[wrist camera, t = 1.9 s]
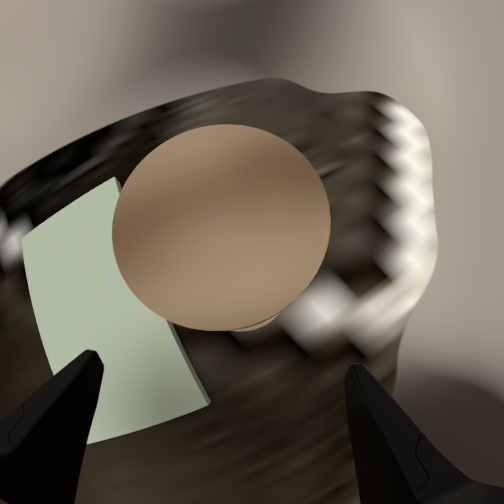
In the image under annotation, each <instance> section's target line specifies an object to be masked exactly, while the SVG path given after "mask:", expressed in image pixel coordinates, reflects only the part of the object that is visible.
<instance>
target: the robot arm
mask: <svg viewBox="0 0 504 504" xmlns="http://www.w3.org/2000/svg"><path fill="white" fill-rule="evenodd" d="M103 374H104V364H103V362H102V360H101V358H100V356H99V354H98V353H97V351H95V350H90V349H86V350H85V351H83V352H82V353H81V354H80V355H78V356H77V357H76V358H75V359H73V360H72V361H71V362H70V363H68V364H67V365H66V366H65V367H64V368H62V369H61V370H60V371H59V372H57V373H56V374H55V375H54V376H53V377H51V378H50V379H49V380H48V381H46V382H45V383H44V384H43V385H42V386H40V387H39V388H38V389H37V390H36V391H34V392H33V393H32V394H31V395H30V396H28V397H27V398H26V399H25V401H22V402H21V403H20V404H19V405H18V406H16V407H15V408H14V409H13V410H11V411H10V412H9V413H7V414H6V415H5V416H3V417H2V418H0V504H74V503H75V497H76V491H77V485H78V480H79V475H80V470H81V466H82V461H83V457H84V453H85V449H86V445H87V441H88V437H89V433H90V429H91V425H92V422H93V418H94V415H95V411H96V408H97V404H98V399H99V394H100V389H101V383H102V378H103ZM345 393H346V407H347V421H348V427H349V433H350V438H351V444H352V450H353V456H354V462H355V468H356V474H357V481H358V488H359V495H360V503H361V504H504V487H499V486H494V485H490V484H485V483H481V482H477V481H474V480H472V479H470V478H469V477H467V476H466V475H464V474H463V473H462V472H461V471H460V470H459V469H458V468H457V467H455V466H454V465H453V464H452V463H451V462H450V461H449V460H448V459H447V458H446V457H444V456H443V455H442V454H441V453H440V452H439V451H438V450H437V449H436V448H435V447H434V446H433V445H432V443H431V442H430V441H429V440H428V439H427V438H426V436H425V435H424V434H423V433H422V432H421V433H420V430H419V428H418V427H417V426H416V425H415V424H414V423H413V421H412V420H411V419H410V418H409V417H408V416H407V414H406V413H405V412H404V411H403V410H402V408H401V407H400V406H399V405H398V404H397V403H396V401H395V400H394V399H393V398H392V397H391V396H390V394H389V393H388V392H387V391H386V390H385V389H384V387H383V386H382V385H381V384H380V383H379V382H378V380H377V379H376V378H375V377H374V376H373V375H372V373H371V372H370V371H369V370H368V369H367V368H366V367H365V365H364V364H362V363H356V364H351V365H350V367H349V369H348V372H347V374H346V377H345Z"/></svg>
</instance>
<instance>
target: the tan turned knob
mask: <svg viewBox="0 0 504 504" xmlns="http://www.w3.org/2000/svg"><path fill="white" fill-rule="evenodd" d="M329 235H330V209H329V203H328V199H327V195H326V191H325V189H324V186H323V184H322V182H321V179H320V178H319V176H318V174H317V173H316V171H315V169H314V168H313V166H312V165H311V164H310V163H309V161H308V160H307V159H306V158H305V157H304V156H303V155H302V154H301V153H300V152H299V151H298V150H297V149H296V148H294V147H293V146H292V145H290V144H289V143H288V142H286V141H284V140H283V139H281V138H279V137H277V136H276V135H273V134H271V133H269V132H266V131H264V130H260V129H257V128H253V127H248V126H242V125H229V124H224V125H211V126H206V127H200V128H197V129H193V130H190V131H187V132H184V133H182V134H179V135H177V136H175V137H173V138H171V139H169V140H168V141H166V142H164V143H163V144H161V145H160V146H158V147H157V148H155V149H154V150H153V151H152V152H151V153H150V154H148V155H147V156H146V157H145V158H144V159H143V160H142V161H141V162H140V163H139V164H138V166H137V167H136V168H135V169H134V171H133V172H132V173H131V175H130V176H129V178H128V179H127V181H126V183H125V185H124V186H123V188H122V191H121V193H120V195H119V198H118V200H117V204H116V207H115V211H114V216H113V222H112V243H113V251H114V255H115V259H116V263H117V266H118V268H119V270H120V273H121V275H122V277H123V279H124V281H125V282H126V284H127V286H128V287H129V289H130V290H131V291H132V292H133V294H134V295H135V296H136V297H137V298H138V299H139V300H140V301H141V302H142V303H143V304H144V305H145V306H146V307H147V308H148V309H150V310H151V311H153V312H154V313H156V314H157V315H159V316H160V317H162V318H164V319H166V320H168V321H170V322H173V323H175V324H178V325H181V326H185V327H188V328H193V329H199V330H207V331H251V330H255V329H258V328H261V327H263V326H265V325H266V324H268V323H270V322H271V321H272V320H274V319H275V318H276V317H277V316H278V315H279V314H280V312H281V311H282V310H284V309H285V308H286V307H287V306H289V305H290V304H291V303H292V302H293V301H294V300H295V299H296V298H297V297H298V296H299V295H300V294H301V293H302V292H303V291H304V290H305V289H306V287H307V286H308V285H309V283H310V282H311V281H312V279H313V278H314V276H315V275H316V273H317V271H318V269H319V267H320V265H321V263H322V261H323V258H324V255H325V252H326V249H327V246H328V241H329Z"/></svg>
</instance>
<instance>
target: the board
mask: <svg viewBox="0 0 504 504" xmlns="http://www.w3.org/2000/svg"><path fill="white" fill-rule="evenodd" d="M121 191H122V188H121V185H120V183H119V181H118V180H117V179H116V178H115V177H113V178H111V179H110V180H108V181H106V182H105V183H103V184H101V185H100V186H98V187H96V188H95V189H93V190H91V191H90V192H88V193H86V194H85V195H83V196H82V197H80V198H79V199H77V200H75V201H74V202H72V203H71V204H69V205H68V206H66V207H65V208H63V209H62V210H60V211H59V212H57V213H56V214H55V215H53V216H52V217H50V218H49V219H47V220H46V221H45V222H43V223H42V224H40V225H39V226H38V227H36V228H35V229H34V230H32V231H31V232H30V233H28V234H27V235H26V236H24V237H23V238H22V239H21V240H22V249H23V256H24V263H25V269H26V275H27V281H28V286H29V291H30V296H31V300H32V305H33V309H34V313H35V317H36V321H37V325H38V328H39V332H40V335H41V339H42V342H43V345H44V348H45V351H46V354H47V357H48V360H49V363H50V366H51V369H52V372H53V374H54V375H55V374H56V373H57V372H59V371H60V370H61V369H62V368H64V367H65V366H66V365H67V364H68V363H70V362H71V361H72V360H73V359H75V358H76V357H77V356H78V355H80V354H81V353H82V352H83V351H85V350H86V349H90V350H95V351H97V353H98V354H99V356H100V358H101V360H102V362H103V364H104V374H103V378H102V383H101V389H100V394H99V399H98V404H97V408H96V411H95V415H94V418H93V422H92V425H91V429H90V433H89V437H88V441H87V444H89V443H94V442H98V441H102V440H106V439H109V438H113V437H117V436H120V435H124V434H127V433H131V432H134V431H137V430H141V429H144V428H147V427H150V426H153V425H156V424H159V423H162V422H165V421H168V420H171V419H174V418H176V417H179V416H182V415H185V414H187V413H190V412H193V411H195V410H198V409H200V408H203V407H205V406H208V405H209V404H210V402H211V400H210V398H209V397H208V395H207V393H206V391H205V389H204V387H203V385H202V384H201V382H200V380H199V378H198V376H197V374H196V372H195V370H194V368H193V366H192V364H191V362H190V360H189V358H188V356H187V354H186V352H185V350H184V348H183V346H182V343H181V341H180V339H179V337H178V335H177V333H176V331H175V328H174V326H173V324H172V322H170V321H168V320H166V319H164V318H162V317H160V316H159V315H157V314H156V313H154V312H153V311H151V310H150V309H148V308H147V307H146V306H145V305H144V304H143V303H142V302H141V301H140V300H139V299H138V298H137V297H136V296H135V295H134V294H133V292H132V291H131V290H130V289H129V287H128V286H127V284H126V282H125V281H124V279H123V277H122V275H121V273H120V270H119V268H118V266H117V263H116V259H115V255H114V251H113V243H112V222H113V216H114V211H115V207H116V204H117V200H118V198H119V195H120V193H121Z"/></svg>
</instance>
